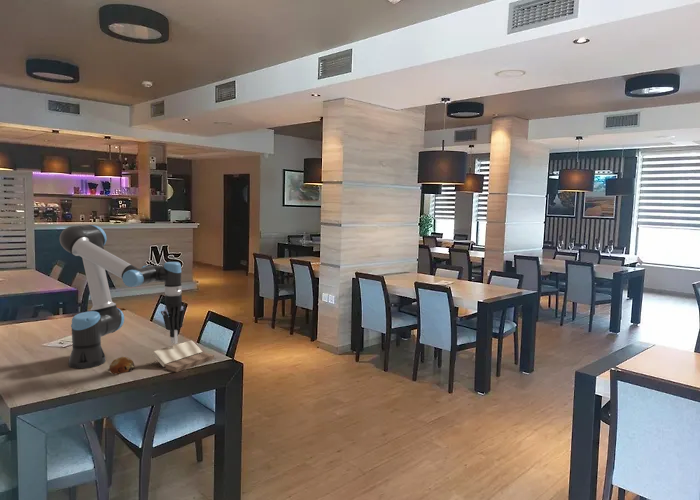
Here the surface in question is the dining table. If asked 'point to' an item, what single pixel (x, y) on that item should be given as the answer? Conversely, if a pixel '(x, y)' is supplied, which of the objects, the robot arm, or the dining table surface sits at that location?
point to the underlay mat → (170, 370)
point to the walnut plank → (189, 362)
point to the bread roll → (121, 365)
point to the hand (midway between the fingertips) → (174, 343)
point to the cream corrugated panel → (176, 352)
